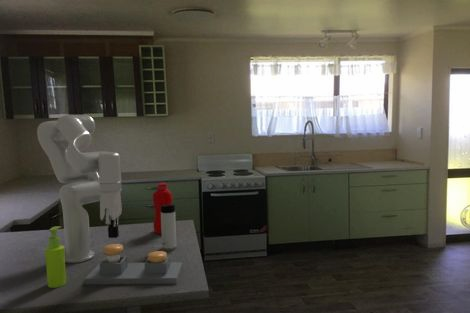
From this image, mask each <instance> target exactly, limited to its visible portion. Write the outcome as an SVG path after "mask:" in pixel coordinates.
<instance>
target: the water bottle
mask: <svg viewBox="0 0 470 313" xmlns="http://www.w3.org/2000/svg"><path fill="white" fill-rule="evenodd" d="M167 187H168V184H167V183H166V182H161V183H157V188H156V190H155V191H154V192H153V194H152V197H151V198H150V201H153V208H152V210H154V211H155V215H154V218H153V219H154V220H153V231H154V233H156V234H158V235H162V234H161V206H162V205H173V204H172V203H173V194H172V192H171V191H170V190H169V189H168V188H167ZM151 203H152V202H150V208H149V209H151Z"/></svg>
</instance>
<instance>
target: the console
mask: <svg viewBox="0 0 470 313" xmlns="http://www.w3.org/2000/svg"><path fill="white" fill-rule="evenodd" d="M170 256H171V255H167V259H166V260H165V261H164V263H151V262H149V261H148V258H147V259H146V260H145V262H128V255H120V263H108V262H107V256H105V257H104V258H103V259H102V260H101V262H99V263H98V264H97V265H96V266H95V267H94V268H93V269H92V271H91V272H89V273H88V275H87V276H86V277H85V278H84V285H145V284H147V285H153V284H157V285H159V284H173V285H175V284H177V283H178V282H179V279H180V276H181V273H182V269H183V262H182V261H181V262H180V261H177V262H175V261H174V262H173V261H172V262H171V257H170Z"/></svg>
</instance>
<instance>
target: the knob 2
mask: <svg viewBox="0 0 470 313" xmlns="http://www.w3.org/2000/svg"><path fill="white" fill-rule="evenodd" d="M167 254H168V253H167V252H166V251H165V250H156V251H152V252H151V251H150V252H149V253H148V254H147V259H148V261H149V262H151V263H164V261H165V260H166V259H167Z"/></svg>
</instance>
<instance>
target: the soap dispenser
mask: <svg viewBox="0 0 470 313" xmlns="http://www.w3.org/2000/svg"><path fill="white" fill-rule="evenodd" d="M61 228H62V226H60V225H59V226H56V225H55V226H52V227H51V228H50V229H48V232H49V233H50V235H51V236H50V237H49V238H48V246H47V247H45V263H46V265H45V266H46V281H47V287H48V288H51V289H52V288H53V289H54V288H59V287H62V286H63V287H64V285H66V284H67V274H66V273H67V272H66V270H67V269H66V262H65V253H64V247H65V245H62V244H61V240H60V239H61V238H60V236H58V234H57V233H58V232H57V231H58V229H61Z"/></svg>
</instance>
